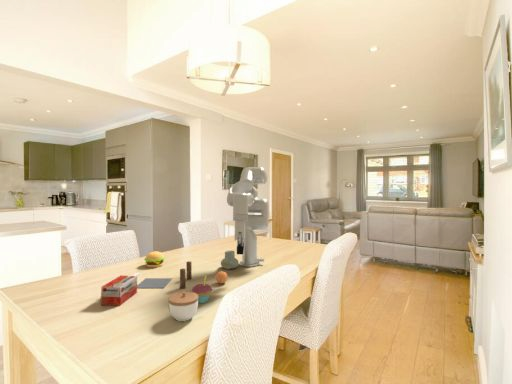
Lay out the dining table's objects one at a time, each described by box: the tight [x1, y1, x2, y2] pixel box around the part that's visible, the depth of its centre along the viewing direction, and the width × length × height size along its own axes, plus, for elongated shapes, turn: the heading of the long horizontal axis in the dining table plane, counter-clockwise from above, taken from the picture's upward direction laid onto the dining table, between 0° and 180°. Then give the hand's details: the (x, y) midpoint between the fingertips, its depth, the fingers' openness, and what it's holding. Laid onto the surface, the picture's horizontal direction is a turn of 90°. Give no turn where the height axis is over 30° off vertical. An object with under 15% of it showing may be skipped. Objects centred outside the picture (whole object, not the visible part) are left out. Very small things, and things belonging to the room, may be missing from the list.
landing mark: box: [137, 277, 173, 289], centre depth 137 cm, size 14×14×1 cm
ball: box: [215, 270, 228, 284], centre depth 138 cm, size 6×6×6 cm
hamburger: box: [144, 250, 166, 269], centre depth 169 cm, size 12×12×9 cm
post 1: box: [179, 268, 187, 290], centre depth 131 cm, size 3×3×9 cm
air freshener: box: [220, 250, 240, 270], centre depth 165 cm, size 11×8×10 cm
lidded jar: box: [168, 291, 199, 322], centre depth 101 cm, size 11×11×9 cm
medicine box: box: [100, 275, 138, 307], centre depth 118 cm, size 15×8×8 cm, turn 177°
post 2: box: [185, 260, 193, 281], centre depth 144 cm, size 3×3×9 cm
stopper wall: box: [131, 272, 141, 280], centre depth 137 cm, size 2×18×2 cm, turn 1°
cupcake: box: [191, 274, 213, 304], centre depth 116 cm, size 9×8×12 cm
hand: (240, 252), depth 138 cm, fingers open, 7 cm apart
